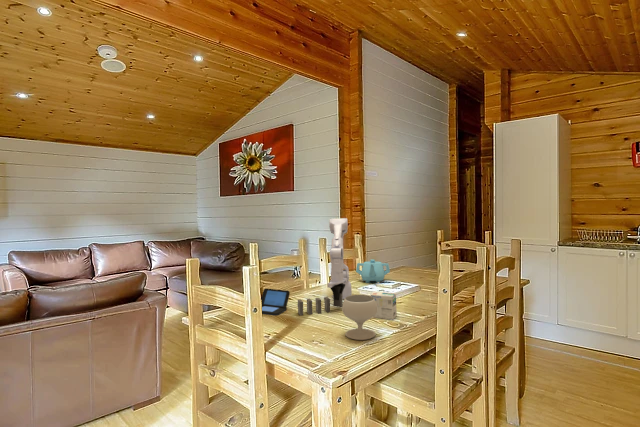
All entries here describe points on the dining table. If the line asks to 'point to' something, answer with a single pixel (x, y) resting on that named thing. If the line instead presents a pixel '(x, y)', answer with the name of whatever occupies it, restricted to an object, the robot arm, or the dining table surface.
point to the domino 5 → (338, 301)
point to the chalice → (359, 314)
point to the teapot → (372, 270)
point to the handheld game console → (274, 301)
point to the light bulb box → (385, 304)
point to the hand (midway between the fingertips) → (337, 299)
